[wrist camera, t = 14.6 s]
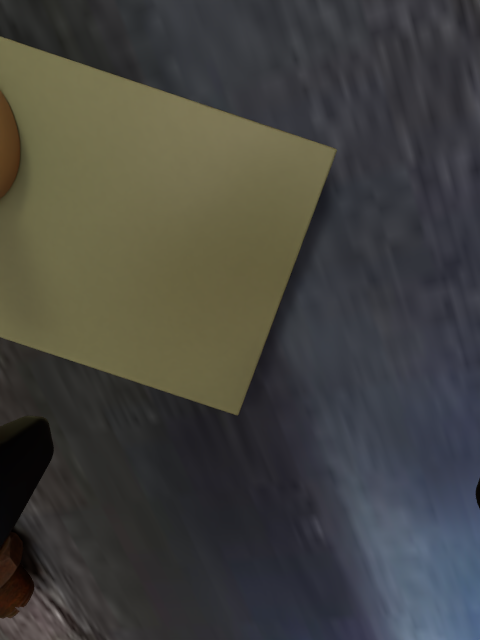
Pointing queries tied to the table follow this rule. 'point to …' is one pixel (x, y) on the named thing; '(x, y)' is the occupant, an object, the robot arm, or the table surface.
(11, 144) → the wooden peg stand
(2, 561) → the bolt
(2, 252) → the shelf
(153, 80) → the table surface
